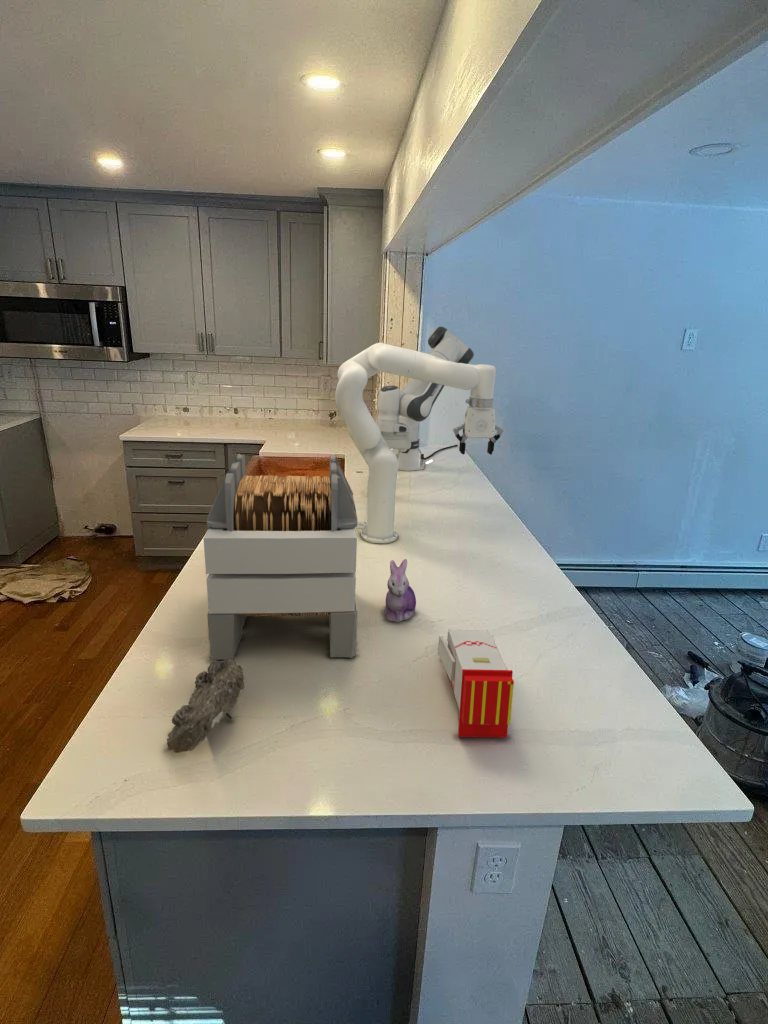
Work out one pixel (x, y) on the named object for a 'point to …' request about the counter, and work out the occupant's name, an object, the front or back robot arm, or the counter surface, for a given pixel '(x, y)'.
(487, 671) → the toy
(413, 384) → the back robot arm
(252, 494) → the grey record storage stand
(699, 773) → the counter surface
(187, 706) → the fossil
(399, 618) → the figurine
